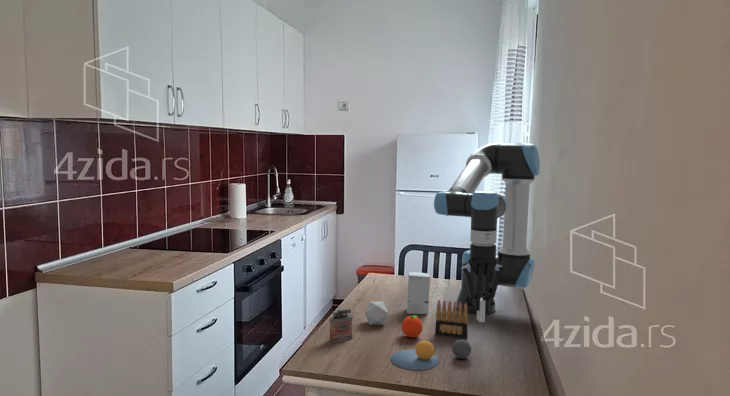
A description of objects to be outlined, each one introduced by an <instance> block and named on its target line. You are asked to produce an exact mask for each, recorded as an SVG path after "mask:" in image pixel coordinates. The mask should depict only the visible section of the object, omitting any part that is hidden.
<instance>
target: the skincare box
mask: <svg viewBox="0 0 730 396" xmlns="http://www.w3.org/2000/svg"><path fill="white" fill-rule="evenodd" d="M407 273H408V276H407V277H408V279H407V298H406V314H409V315H410V314H413V315H414V314H417V315H428V314H429V303H430V301H429V300H430V288H431V287H430V286H431V276H430V273H427V272H417V271H416V272H415V271H412V272H410V271H408V272H407Z"/></svg>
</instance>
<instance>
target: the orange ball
mask: <svg viewBox="0 0 730 396" xmlns="http://www.w3.org/2000/svg"><path fill="white" fill-rule="evenodd" d="M415 350H416V354H417V356H418V357H419V358H420V359H423V360H428V359H430V358H431V357H432V356H433V355H435V354H434V353H435V348H434V344H432V343H431V342H430V341H429V340H420V341H419V342H417V344H416V346H415Z"/></svg>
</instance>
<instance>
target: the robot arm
mask: <svg viewBox="0 0 730 396" xmlns="http://www.w3.org/2000/svg"><path fill="white" fill-rule="evenodd" d="M540 164H541V163H540V155H539V150H538V147H537V146H536V145H535V144H534V143H525V142H521V143H520V142H516V143H515V142H513V143H509V142H501V143H500V142H493V143H489V144H485V145H484V146H482V147H479V148H478V149H476V150H474V151H473V152H472V153H471V154H470V156H469V157H468V158H467V160H466V162H465V167H464V169H463V170H462V171H461V173H460V174H459V175H458V177H457V178H456V179H455V181H454V182H453V184H452V185H451V187H450V188H449V189H448V190H447V191H445V190H444V191H438V192H437V193H436V194H435V196H434V201H433V208H434V212H435V213H436V214H437V215H443V216H447V217H448V216H451V217H464V218H465V217H466V218H470V237H469V238H470V240H469V241H470V242H471V243H470V245H469V250H466V251H464V252H463V254H462V260H461V267H460V270H461V283H460V284H461V285H460V286H461V287H460V291H459V292H458V295H457V298H456V301H455V302H456V305H457V309H458V307H459V303H460V302H461V304H462V312H463V311H464V305H465V302H466V303H467V314H468V313H470V314H476V320H477V321H478V322H479V323H485V320H486V319H485V318H486V315H487V314H490V313H493V312H495V311H496V302H495V301H496V300H495V297H496V293H497V291H498V290H497V289H498V286H501V287H509V288H514V289H526V288H528V287H529V285H530V283H531V280H532V279H533V278H532V277H533V273H534V268H535V259H534V258H533V257H531V252H530V251H529V250H528V249H527V248H528V247H527V243H528V242H527V240H528V223H529V221H528V220H529V207H530V206H529V205H530V203H529V202H530V186H531V184H532V183H533V182H534V181H535V177H536V176H539V175H540V169H541V168H540V166H541V165H540ZM491 174H494V175H495V174H496V175H501V180H502V181H503V182H504V183H505V191H504V192H505V193H504V196H503V195H501V194H500V193H497V191H493V190H477V189H478V187H479V186H480V184H481V183H482V180H483V179H484V178H486V177H487V176H489V175H491ZM501 217H503V230H502V231H503V232H502V233H503V235H502V247H501V248H499V249H498V250H497V245H496V243H497V238H498V237H497V233H498V219H499V218H501ZM497 251H498V252H497Z"/></svg>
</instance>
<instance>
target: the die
mask: <svg viewBox="0 0 730 396" xmlns="http://www.w3.org/2000/svg"><path fill="white" fill-rule="evenodd" d="M364 312H365V313H364V315H365V317H366V320H367V322H368V326H385V322H386V320H387V318H388V315H389V311H388V309H387V306H386V303H385V302H384V301H369V302H368V305H367V307H366V310H365V311H364Z"/></svg>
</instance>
